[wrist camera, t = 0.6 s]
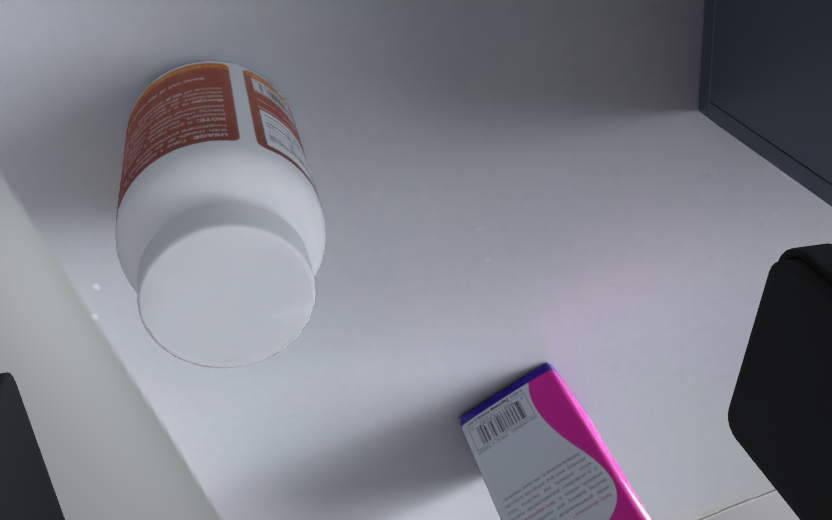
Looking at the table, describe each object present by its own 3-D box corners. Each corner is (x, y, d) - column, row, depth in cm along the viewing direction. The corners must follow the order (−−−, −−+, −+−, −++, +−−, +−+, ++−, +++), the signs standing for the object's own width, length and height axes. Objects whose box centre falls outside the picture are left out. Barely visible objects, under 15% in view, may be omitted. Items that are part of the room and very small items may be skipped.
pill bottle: (116, 190, 30) (87, 380, 21) (142, 36, 28) (122, 178, 19) (275, 218, 33) (310, 400, 24) (314, 78, 30) (371, 223, 21)
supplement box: (505, 473, 45) (589, 664, 36) (455, 417, 41) (534, 612, 32) (592, 419, 44) (702, 600, 35) (549, 358, 41) (658, 540, 31)
